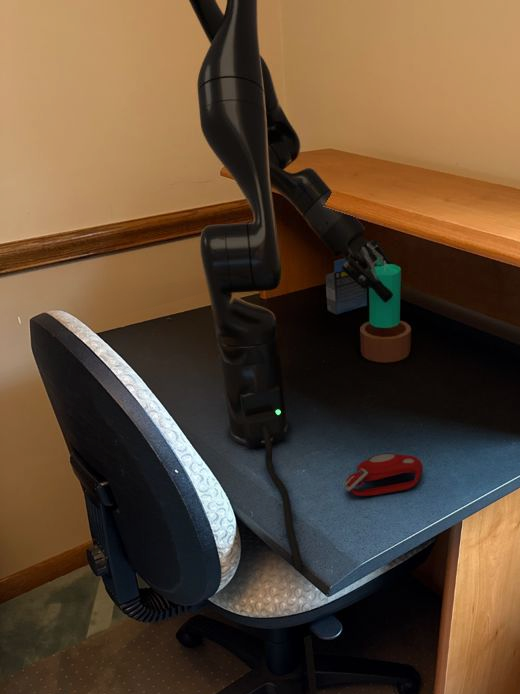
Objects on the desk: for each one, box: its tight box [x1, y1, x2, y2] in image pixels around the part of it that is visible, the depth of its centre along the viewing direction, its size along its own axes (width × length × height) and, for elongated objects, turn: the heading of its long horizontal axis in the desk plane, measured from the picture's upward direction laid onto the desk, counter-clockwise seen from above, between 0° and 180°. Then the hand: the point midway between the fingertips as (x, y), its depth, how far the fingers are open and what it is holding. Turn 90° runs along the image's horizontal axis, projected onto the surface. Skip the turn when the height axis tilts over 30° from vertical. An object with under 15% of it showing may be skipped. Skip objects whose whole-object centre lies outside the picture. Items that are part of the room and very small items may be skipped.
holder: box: [359, 320, 412, 363], centre depth 133 cm, size 10×10×5 cm
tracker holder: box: [343, 452, 424, 497], centre depth 97 cm, size 12×4×10 cm
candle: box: [368, 263, 402, 328], centre depth 128 cm, size 6×6×12 cm
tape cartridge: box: [325, 257, 368, 316], centre depth 151 cm, size 9×4×12 cm, turn 126°
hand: (394, 293), depth 127 cm, fingers closed on candle, 4 cm apart
